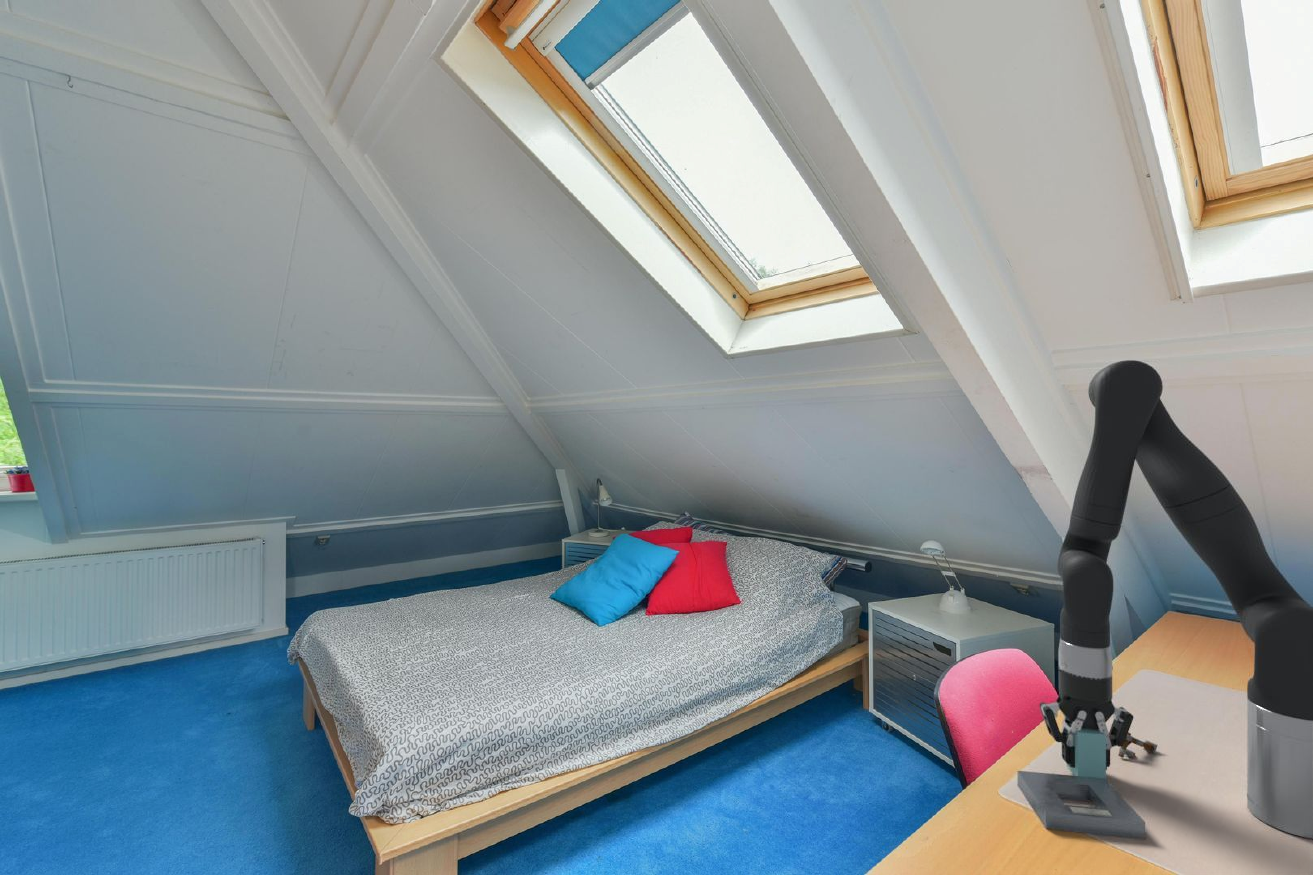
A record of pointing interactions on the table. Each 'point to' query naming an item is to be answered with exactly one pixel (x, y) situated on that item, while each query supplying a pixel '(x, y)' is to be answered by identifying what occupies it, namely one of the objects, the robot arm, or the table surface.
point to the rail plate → (1102, 819)
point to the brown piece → (1129, 739)
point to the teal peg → (1090, 753)
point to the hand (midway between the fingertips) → (1085, 765)
